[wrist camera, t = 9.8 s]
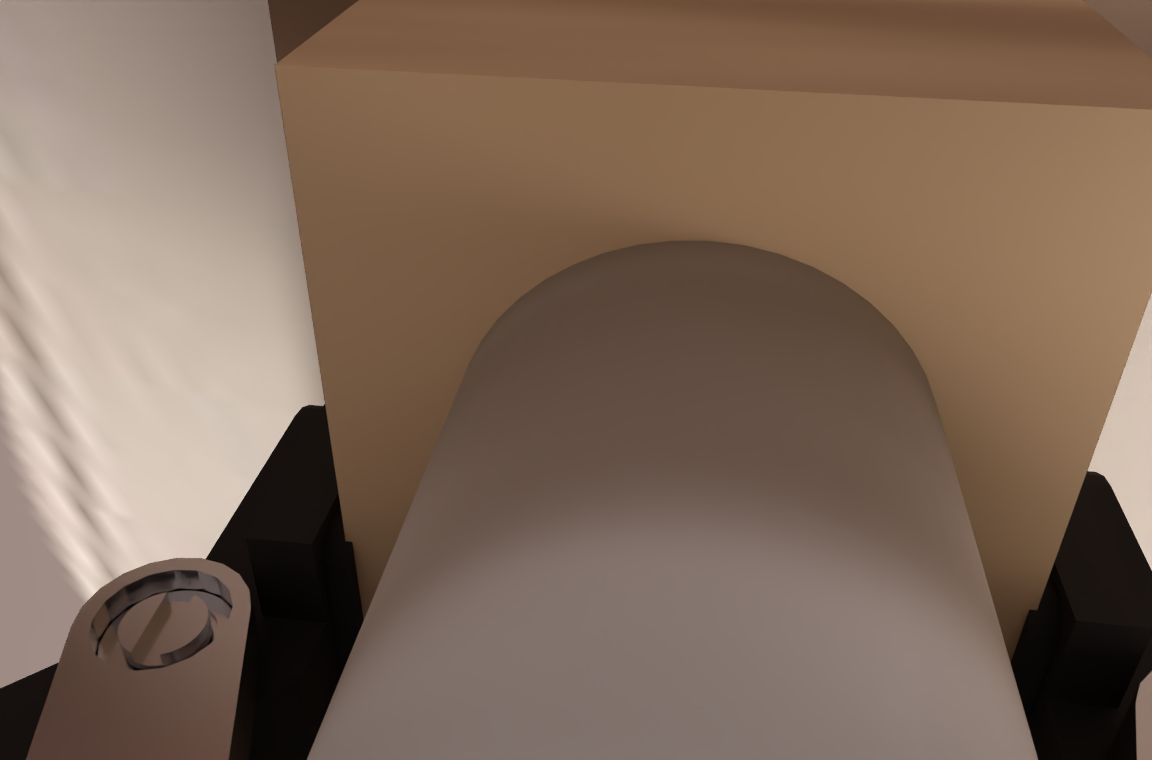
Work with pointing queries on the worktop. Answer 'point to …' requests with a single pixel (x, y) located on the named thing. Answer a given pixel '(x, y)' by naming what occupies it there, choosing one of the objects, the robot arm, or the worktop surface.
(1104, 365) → the salt and pepper set
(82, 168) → the worktop surface
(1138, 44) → the walnut shelf
